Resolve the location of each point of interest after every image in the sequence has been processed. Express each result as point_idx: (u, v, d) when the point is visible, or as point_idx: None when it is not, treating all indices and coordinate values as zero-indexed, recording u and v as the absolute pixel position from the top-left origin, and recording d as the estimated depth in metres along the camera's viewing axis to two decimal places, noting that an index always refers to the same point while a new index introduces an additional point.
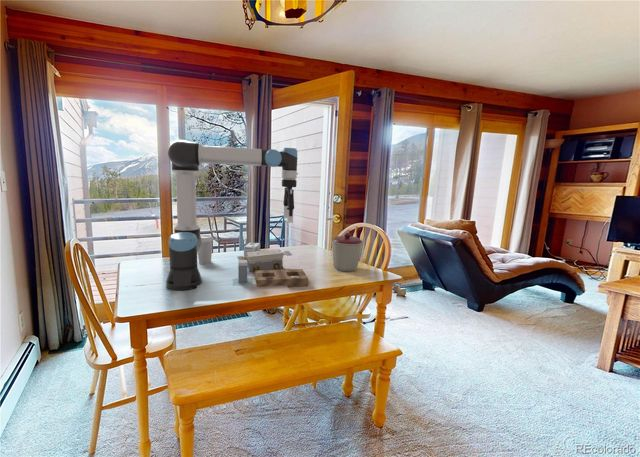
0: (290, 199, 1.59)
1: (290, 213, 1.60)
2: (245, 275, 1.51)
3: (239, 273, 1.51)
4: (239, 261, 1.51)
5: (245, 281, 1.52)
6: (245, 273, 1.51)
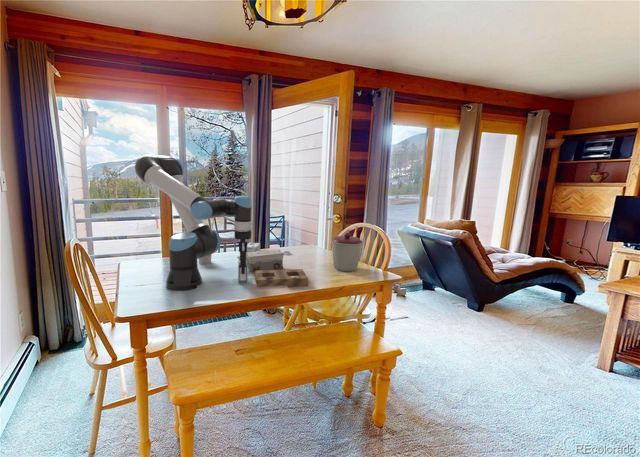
0: (242, 257, 1.46)
1: (242, 271, 1.49)
2: None
3: (239, 273, 1.51)
4: (239, 261, 1.51)
5: (245, 281, 1.52)
6: None
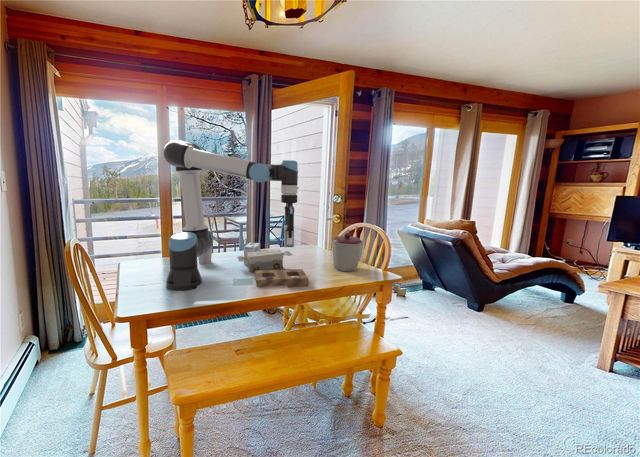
0: (290, 220, 1.48)
1: (289, 235, 1.51)
2: None
3: (286, 237, 1.53)
4: (285, 225, 1.53)
5: (292, 245, 1.54)
6: None
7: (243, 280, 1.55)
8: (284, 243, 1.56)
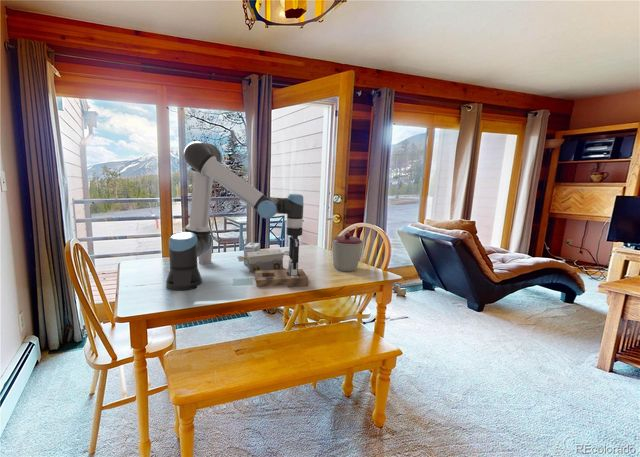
0: (295, 253, 1.51)
1: (294, 266, 1.54)
2: None
3: (290, 272, 1.57)
4: (290, 261, 1.58)
5: None
6: None
7: (243, 280, 1.55)
8: None
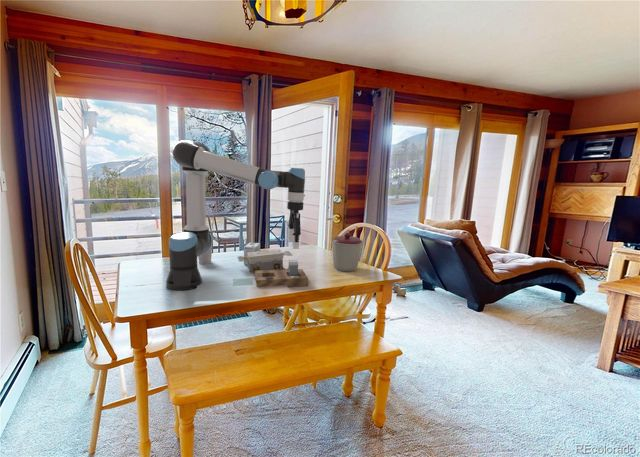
0: (296, 224, 1.46)
1: (296, 239, 1.48)
2: (296, 274, 1.58)
3: (290, 272, 1.57)
4: (290, 261, 1.58)
5: None
6: (296, 272, 1.57)
7: (243, 280, 1.55)
8: None
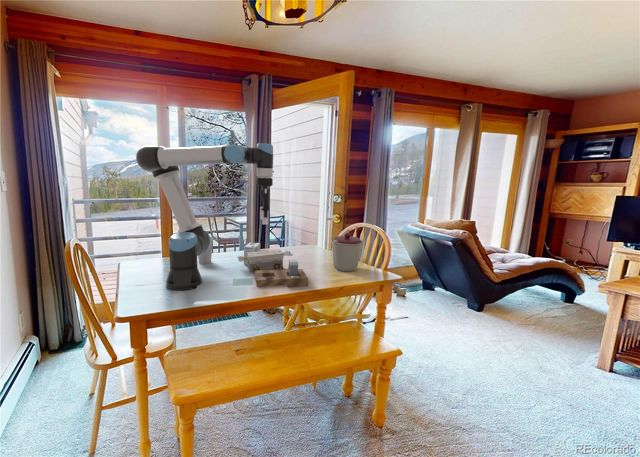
0: (264, 199, 1.47)
1: (265, 214, 1.48)
2: (296, 274, 1.58)
3: (290, 272, 1.57)
4: (290, 261, 1.58)
5: None
6: (296, 272, 1.57)
7: (243, 280, 1.55)
8: None
